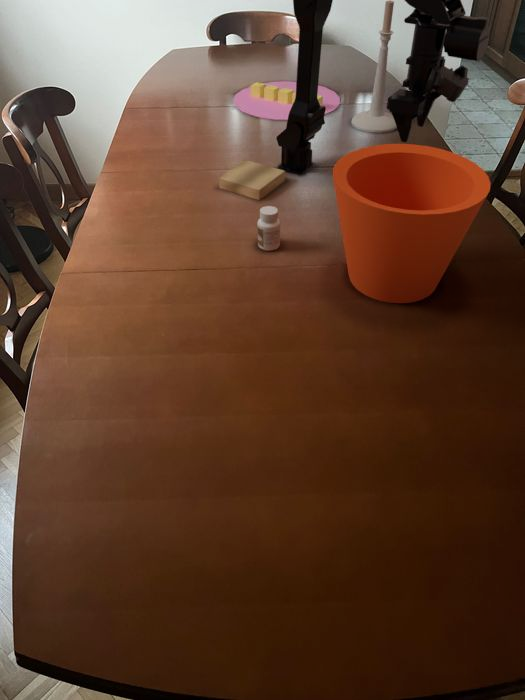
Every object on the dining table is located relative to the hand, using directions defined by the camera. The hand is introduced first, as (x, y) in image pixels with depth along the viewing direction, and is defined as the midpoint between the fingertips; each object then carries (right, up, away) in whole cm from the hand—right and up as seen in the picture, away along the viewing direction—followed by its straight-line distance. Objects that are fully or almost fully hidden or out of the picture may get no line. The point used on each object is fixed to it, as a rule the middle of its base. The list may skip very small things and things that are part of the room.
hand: (412, 133), depth 121 cm
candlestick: (0, +18, +41) cm, 45 cm away
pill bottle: (-30, -24, -4) cm, 38 cm away
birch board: (-33, -6, +15) cm, 37 cm away
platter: (-24, +30, +55) cm, 67 cm away
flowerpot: (-7, -31, -12) cm, 34 cm away
